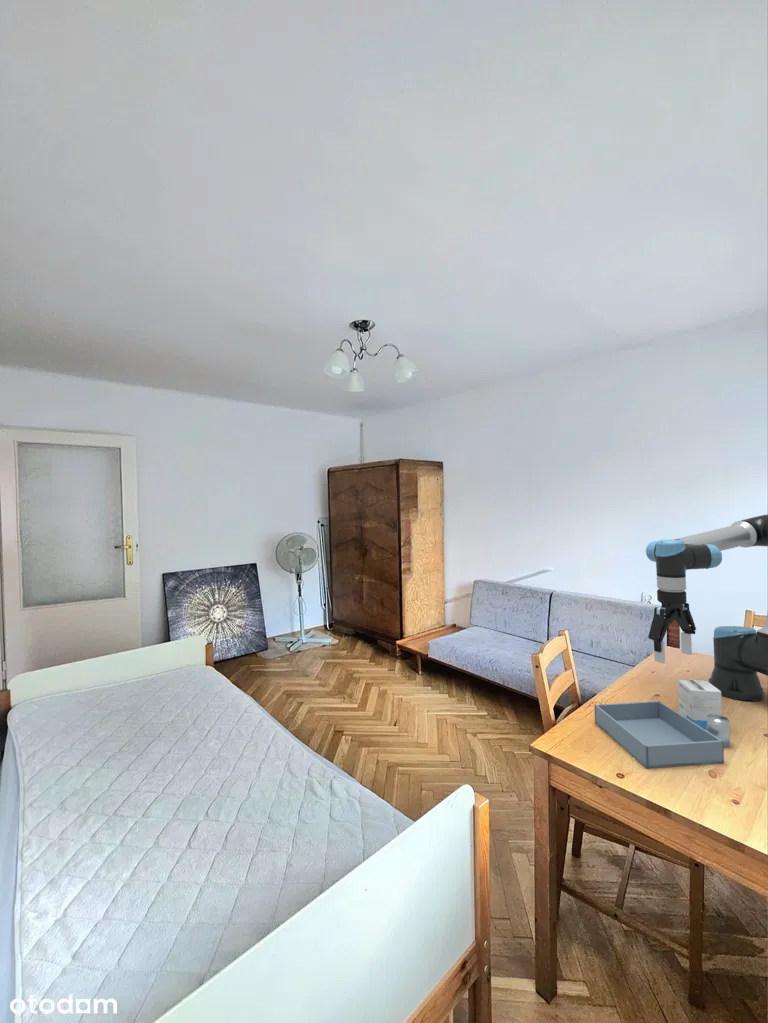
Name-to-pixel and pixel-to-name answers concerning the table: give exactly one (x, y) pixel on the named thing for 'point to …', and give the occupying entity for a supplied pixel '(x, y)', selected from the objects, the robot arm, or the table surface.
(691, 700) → the ink box
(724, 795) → the table surface
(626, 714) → the tote
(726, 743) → the tin
